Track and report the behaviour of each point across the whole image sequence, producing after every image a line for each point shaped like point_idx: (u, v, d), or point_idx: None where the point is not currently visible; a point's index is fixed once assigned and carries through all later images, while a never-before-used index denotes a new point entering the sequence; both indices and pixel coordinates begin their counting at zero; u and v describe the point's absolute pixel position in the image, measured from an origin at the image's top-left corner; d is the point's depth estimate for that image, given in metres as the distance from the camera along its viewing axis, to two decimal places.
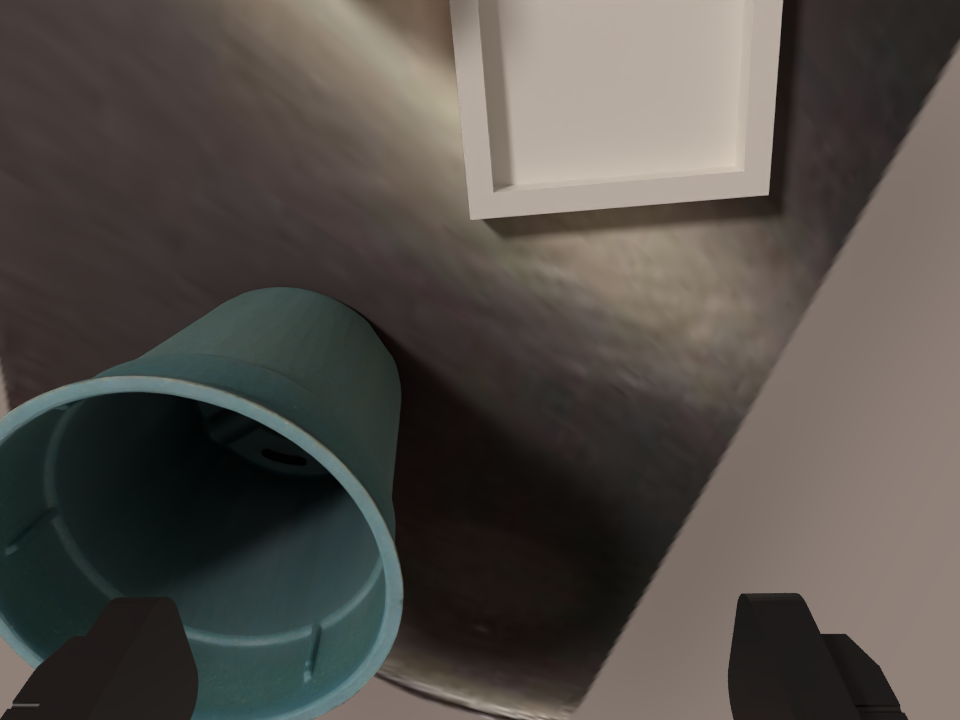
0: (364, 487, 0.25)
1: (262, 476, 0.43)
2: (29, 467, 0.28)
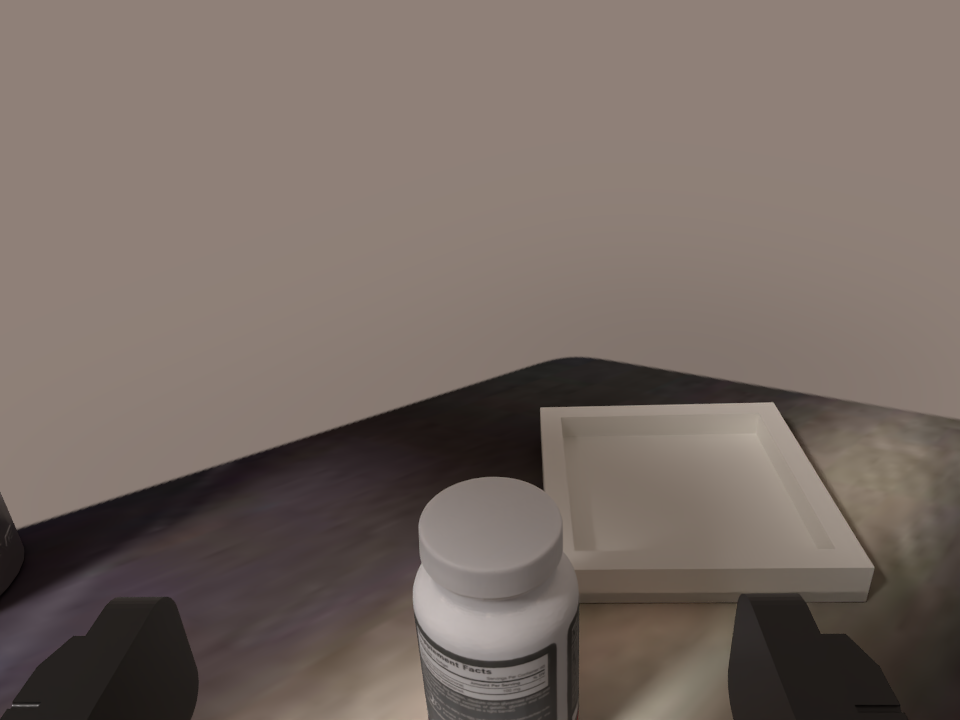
0: None
1: None
2: None
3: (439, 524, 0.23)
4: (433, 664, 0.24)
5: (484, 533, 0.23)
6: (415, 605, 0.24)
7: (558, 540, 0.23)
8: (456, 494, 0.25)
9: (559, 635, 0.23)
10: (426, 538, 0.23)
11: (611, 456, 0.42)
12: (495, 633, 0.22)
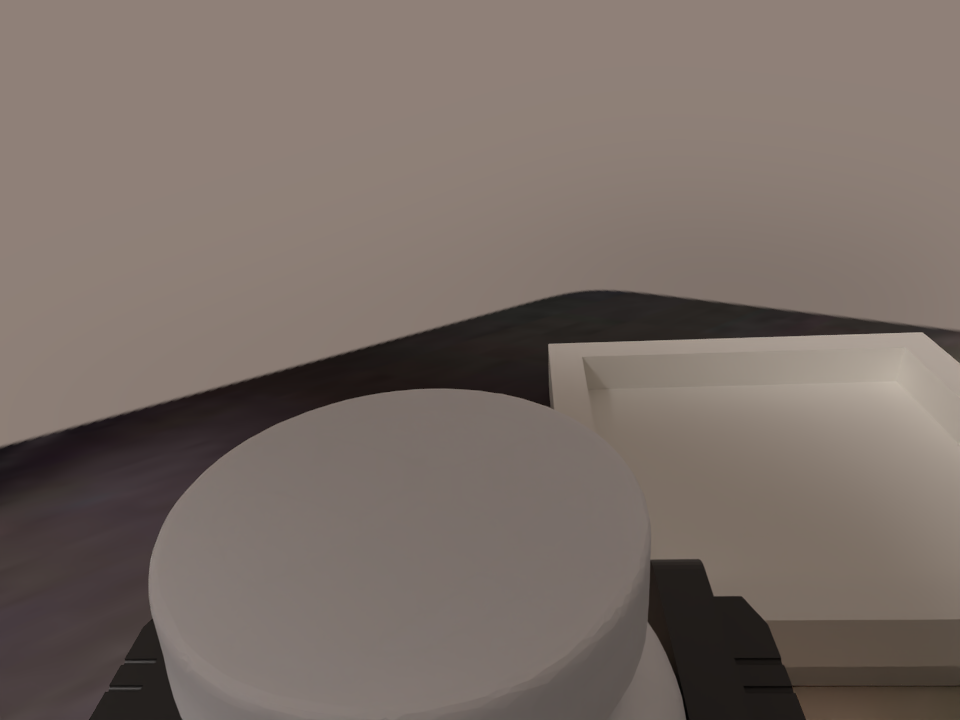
0: None
1: None
2: None
3: (229, 521, 0.07)
4: None
5: (374, 553, 0.06)
6: None
7: (644, 578, 0.06)
8: (315, 432, 0.08)
9: None
10: (163, 571, 0.06)
11: (666, 417, 0.26)
12: None
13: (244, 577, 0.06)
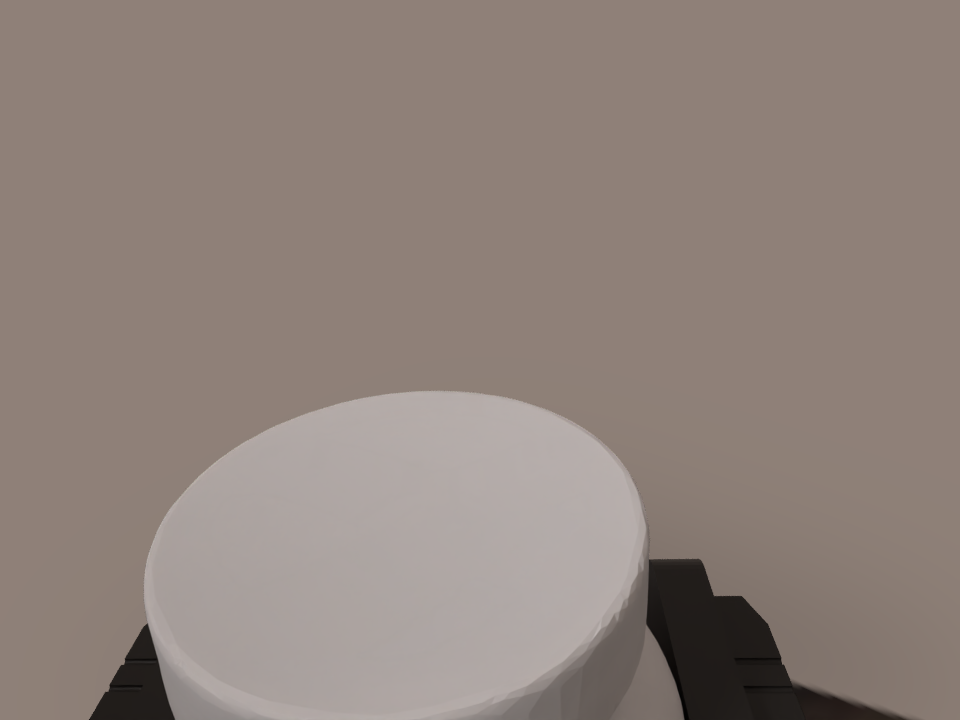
0: None
1: None
2: None
3: (225, 525, 0.07)
4: None
5: (371, 557, 0.06)
6: None
7: (642, 583, 0.06)
8: (312, 435, 0.08)
9: None
10: (159, 575, 0.06)
11: None
12: None
13: (240, 582, 0.06)
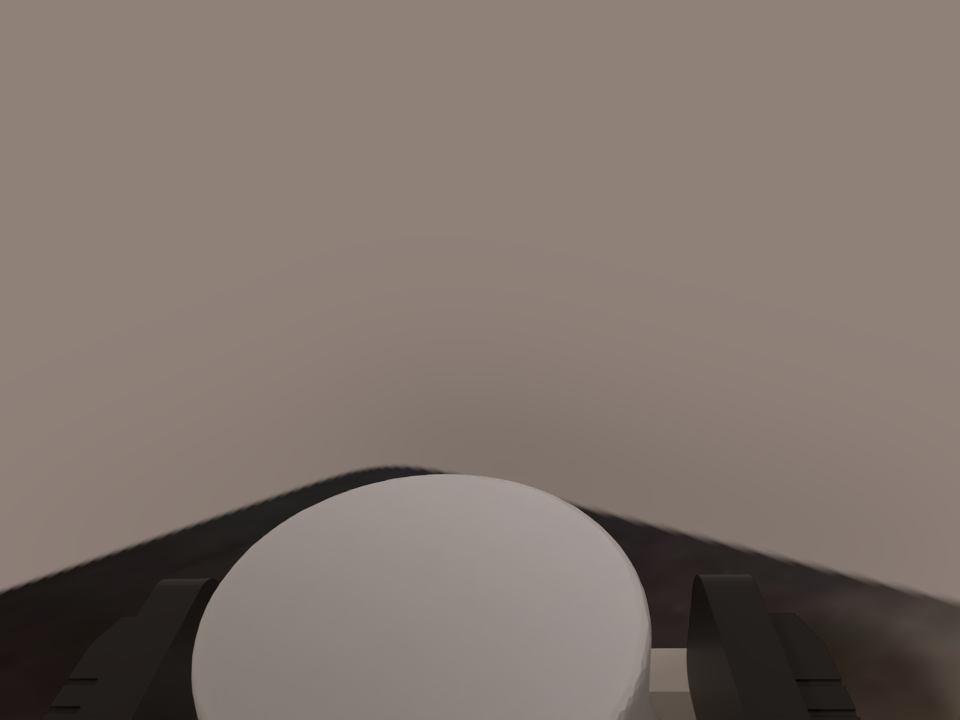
0: None
1: None
2: None
3: (263, 616, 0.07)
4: None
5: (398, 652, 0.07)
6: None
7: (644, 678, 0.07)
8: (338, 521, 0.09)
9: None
10: (205, 668, 0.07)
11: None
12: None
13: (280, 675, 0.07)
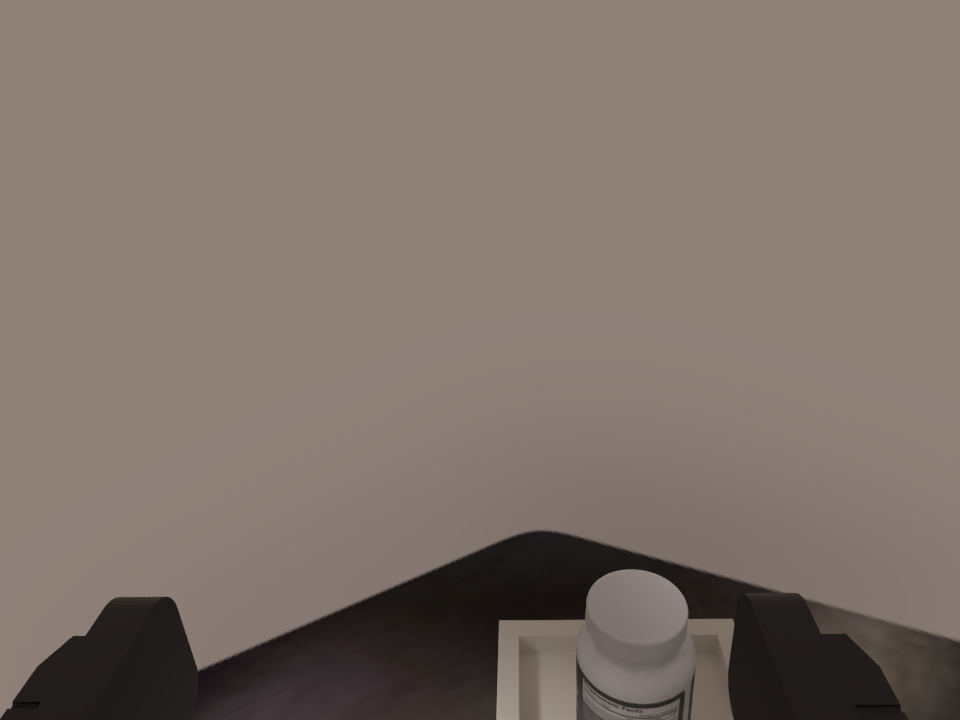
0: None
1: None
2: None
3: (602, 608, 0.34)
4: (596, 705, 0.34)
5: (635, 615, 0.33)
6: (582, 664, 0.34)
7: (687, 620, 0.33)
8: (607, 584, 0.35)
9: (687, 685, 0.33)
10: (596, 619, 0.33)
11: (568, 682, 0.42)
12: (646, 684, 0.33)
13: (612, 620, 0.33)
